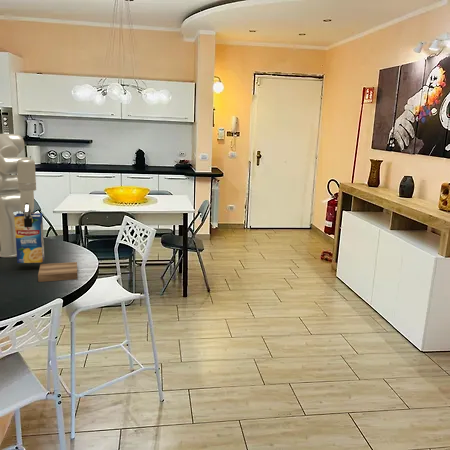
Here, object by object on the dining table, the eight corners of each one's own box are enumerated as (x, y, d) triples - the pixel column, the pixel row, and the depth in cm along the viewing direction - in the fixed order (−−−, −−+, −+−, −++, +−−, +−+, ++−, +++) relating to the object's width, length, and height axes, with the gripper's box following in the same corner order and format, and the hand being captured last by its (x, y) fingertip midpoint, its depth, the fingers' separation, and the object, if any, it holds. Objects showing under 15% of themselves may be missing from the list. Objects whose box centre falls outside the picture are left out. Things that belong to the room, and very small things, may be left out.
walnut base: (40, 270, 204) (40, 264, 203) (77, 268, 209) (76, 262, 208) (38, 281, 189) (37, 275, 188) (77, 279, 194) (77, 272, 193)
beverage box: (42, 262, 204) (40, 216, 199) (17, 263, 201) (14, 216, 196) (44, 257, 211) (42, 213, 205) (19, 258, 208) (17, 213, 203)
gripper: (20, 183, 205) (22, 220, 209) (15, 189, 189) (18, 229, 193) (37, 183, 207) (39, 220, 211) (34, 189, 191) (36, 229, 195)
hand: (29, 224), depth 202 cm, fingers closed on beverage box, 7 cm apart
